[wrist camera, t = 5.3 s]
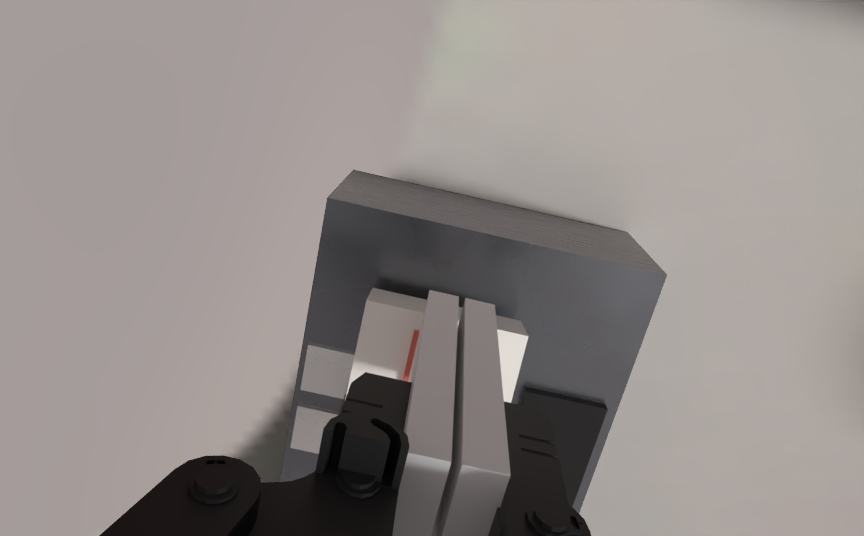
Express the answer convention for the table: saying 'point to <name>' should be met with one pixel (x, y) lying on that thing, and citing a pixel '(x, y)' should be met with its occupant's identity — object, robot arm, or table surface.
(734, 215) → the table surface
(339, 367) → the switch panel
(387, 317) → the block
